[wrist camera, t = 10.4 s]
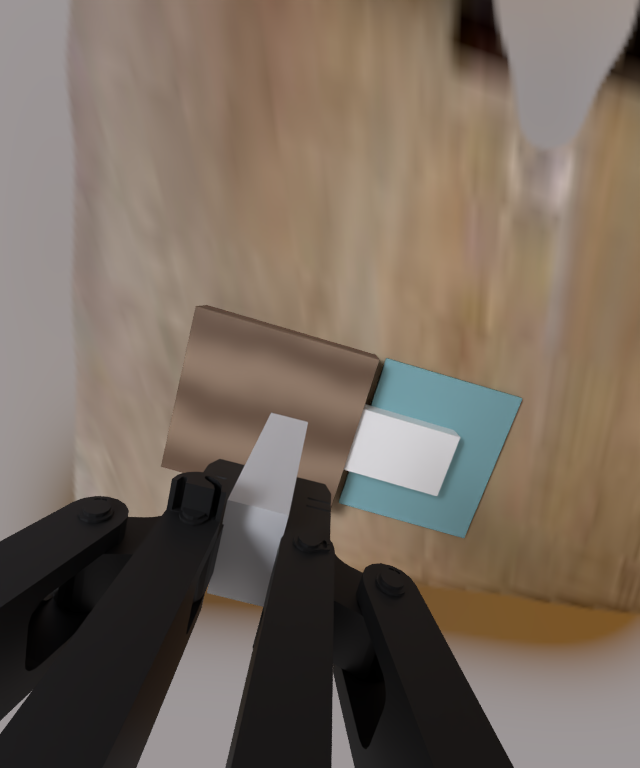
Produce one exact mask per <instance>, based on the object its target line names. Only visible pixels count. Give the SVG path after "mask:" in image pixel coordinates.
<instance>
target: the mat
mask: <svg viewBox="0 0 640 768" xmlns="http://www.w3.org/2000/svg"><path fill="white" fill-rule="evenodd" d="M521 401H522V398H520V397H517V396H514V395H510V394H507V393H504V392H500V391H497V390H493V389H490V388H487V387H483V386H480V385H476V384H473V383H470V382H466V381H463V380H459V379H456V378H453V377H449V376H446V375H442V374H439V373H436V372H432V371H429V370H425V369H422V368H419V367H415V366H412V365H408V364H405V363H402V362H398V361H395V360H391V359H388V358H386V360H385V363H384V366H383V369H382V372H381V375H380V378H379V381H378V384H377V387H376V390H375V393H374V396H373V399H372V402H371V405H370V406H374V407H377V408H380V409H384V410H387V411H391V412H394V413H398V414H401V415H404V416H408V417H411V418H415V419H418V420H421V421H425V422H428V423H432V424H435V425H439V426H442V427H445V428H449V429H452V430H454V431H455V432H456V433H457V434H458V435H459V436H460V440H459V442H458V445H457V447H456V450H455V452H454V455H453V457H452V460H451V463H450V465H449V468H448V470H447V473H446V475H445V478H444V480H443V483H442V485H441V488H440V490H439V493H438V496H434V495H431V494H427V493H424V492H420V491H417V490H413V489H410V488H406V487H403V486H399V485H396V484H392V483H389V482H385V481H382V480H378V479H375V478H371V477H368V476H364V475H361V474H357V473H354V472H350V471H349V472H348V475H347V478H346V481H345V484H344V487H343V490H342V493H341V496H340V499H339V503H341V504H344V505H348V506H351V507H355V508H358V509H362V510H365V511H369V512H373V513H376V514H380V515H383V516H387V517H390V518H394V519H397V520H401V521H404V522H408V523H412V524H415V525H419V526H422V527H426V528H429V529H433V530H436V531H440V532H443V533H447V534H451V535H454V536H458V537H461V538H464V537H465V535H466V533H467V530H468V528H469V525H470V523H471V521H472V518H473V516H474V513H475V511H476V509H477V506H478V504H479V501H480V499H481V497H482V494H483V492H484V489H485V487H486V485H487V482H488V480H489V478H490V475H491V473H492V470H493V468H494V466H495V463H496V461H497V458H498V456H499V454H500V451H501V449H502V446H503V444H504V442H505V439H506V437H507V434H508V432H509V430H510V427H511V425H512V423H513V420H514V418H515V415H516V413H517V411H518V408H519V406H520V403H521Z"/></svg>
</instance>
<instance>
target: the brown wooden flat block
mask: <svg viewBox="0 0 640 768" xmlns="http://www.w3.org/2000/svg"><path fill="white" fill-rule="evenodd" d="M378 363H379V359H378V357H377V356H376V355H374V354H371V353H368V352H364V351H361V350H357V349H354V348H351V347H347V346H344V345H340V344H337V343H334V342H330V341H327V340H323V339H320V338H317V337H313V336H310V335H307V334H303V333H300V332H296V331H293V330H290V329H286V328H283V327H279V326H276V325H273V324H269V323H266V322H262V321H259V320H256V319H252V318H249V317H245V316H242V315H239V314H235V313H232V312H228V311H225V310H222V309H218V308H215V307H211V306H208V305H203V306H196V308H195V313H194V317H193V322H192V326H191V331H190V336H189V340H188V345H187V349H186V354H185V359H184V363H183V368H182V372H181V377H180V382H179V386H178V391H177V395H176V400H175V405H174V409H173V414H172V419H171V423H170V428H169V432H168V437H167V442H166V446H165V451H164V455H163V460H162V465H161V467H164V468H168V469H171V470H175V471H179V472H182V473H186V472H204V470H205V469H206V467H207V466H208V464H210V463H212V462H214V461H216V460H218V459H223V460H227V461H231V462H235V463H239V464H243V465H245V464H246V462H247V460H248V458H249V456H250V454H251V452H252V450H253V448H254V446H255V444H256V442H257V440H258V438H259V436H260V434H261V432H262V430H263V428H264V426H265V424H266V422H267V420H268V418H269V416H270V414H271V413H274V414H278V415H282V416H286V417H290V418H294V419H298V420H302V421H306V422H308V425H307V430H306V435H305V440H304V444H303V449H302V454H301V459H300V464H299V469H298V473H297V477H299V478H303V479H307V480H311V481H315V482H319V483H323V484H326V486H327V488H328V489H329V491H330V493H331V506H332V503H333V500H334V497H335V494H336V491H337V488H338V485H339V482H340V479H341V476H342V473H343V470H344V466H345V463H346V460H347V457H348V454H349V451H350V448H351V445H352V442H353V439H354V436H355V433H356V430H357V427H358V424H359V421H360V418H361V415H362V412H363V408H364V405H365V402H366V399H367V396H368V393H369V390H370V387H371V384H372V381H373V378H374V375H375V372H376V369H377V366H378Z"/></svg>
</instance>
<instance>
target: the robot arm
mask: <svg viewBox="0 0 640 768" xmlns="http://www.w3.org/2000/svg"><path fill="white" fill-rule="evenodd" d="M307 425H308V422H306V421H302V420H298V419H294V418H290V417H286V416H282V415H278V414H274V413H271V414H270V416H269V418H268V420H267V422H266V424H265V426H264V428H263V430H262V432H261V434H260V436H259V438H258V440H257V442H256V444H255V446H254V448H253V450H252V452H251V454H250V456H249V458H248V460H247V462H246V464H245V465H243V464H239V463H235V462H231V461H227V460H223V459H218V460H216V461H214V462H212V463H210V464H208V466H207V467H206V469H205V470H204V472H186V473H182V474H179V475H177V476H176V477H174V478H173V479H172V483H171V488H170V494H169V499H168V505H167V510H166V511H165V512H164V514H163V515H162V516H158V517H145V518H144V517H128V512H129V510H128V508H127V506H126V505H125V504H124V503H122V502H121V501H119V500H118V499H114V498H110V497H104V496H103V497H101V496H94V497H88V498H83V499H80V500H77V501H75V502H72V503H70V504H69V505H67V506H65V507H63V508H61V509H60V510H57V511H56V512H54V513H52V514H50V515H48V516H46V517H45V518H43V519H41V520H39V521H37V522H35V523H33V524H32V525H30V526H28V527H26V528H24V529H22V530H20V531H19V532H17V533H15V534H13V535H11V536H9V537H7V538H6V539H4V540H2V541H0V721H1V720H2V719H3V718H4V717H5V716H6V715H7V714H8V713H9V712H10V711H11V710H12V709H13V708H14V707H15V706H16V705H17V704H18V703H19V702H20V701H21V700H23V699H24V698H25V697H26V696H27V695H28V694H29V693H30V692H31V691H32V692H31V693H30V695H29V696H28V697H27V699H26V700H25V702H24V703H23V704H22V705H21V707H20V708H19V709H18V711H17V712H16V713H15V715H14V716H13V718H12V719H11V720H10V722H9V723H8V724H7V726H6V727H5V728H4V730H3V731H2V732H1V734H0V768H136V767H137V764H138V762H139V760H140V757H141V755H142V752H143V750H144V747H145V745H146V743H147V740H148V737H149V735H150V733H151V730H152V728H153V725H154V723H155V720H156V718H157V716H158V713H159V711H160V708H161V706H162V704H163V701H164V699H165V696H166V694H167V691H168V689H169V686H170V684H171V682H172V679H173V677H174V674H175V672H176V669H177V667H178V665H179V662H180V660H181V657H182V655H183V652H184V650H185V647H186V645H187V643H188V640H189V638H190V635H191V633H192V630H193V628H194V625H195V623H196V621H197V618H198V616H199V613H200V611H201V608H202V603H203V599H204V594H205V591H206V589H207V586H208V584H209V586H208V591H207V593H210V594H214V595H218V596H222V597H226V598H231V599H234V600H238V601H243V602H247V603H250V604H255V605H259V606H263V611H262V615H261V618H260V622H259V625H258V629H257V633H256V637H255V640H254V644H253V652H252V656H251V660H250V665H249V669H248V673H247V677H246V682H245V686H244V690H243V695H242V699H241V703H240V707H239V712H238V716H237V720H236V725H235V729H234V733H233V738H232V742H231V746H230V751H229V755H228V759H227V763H226V768H331V754H332V753H331V752H332V689H333V688H332V687H333V685H332V684H333V683H332V682H333V674H334V678H335V682H336V687H337V691H338V696H339V700H340V705H341V709H342V713H343V718H344V722H345V727H346V731H347V735H348V740H349V744H350V749H351V753H352V758H353V762H354V766H355V768H514V767H513V765H512V763H511V761H510V760H509V758H508V756H507V754H506V752H505V750H504V749H503V747H502V745H501V743H500V741H499V739H498V738H497V735H496V733H495V732H494V730H493V728H492V726H491V724H490V722H489V720H488V719H487V717H486V715H485V713H484V711H483V709H482V707H481V705H480V704H479V702H478V700H477V698H476V696H475V694H474V692H473V691H472V689H471V687H470V685H469V683H468V681H467V679H466V678H465V676H464V674H463V672H462V670H461V668H460V667H459V665H458V663H457V661H456V659H455V657H454V655H453V653H452V651H451V650H450V648H449V646H448V644H447V642H446V640H445V638H444V637H443V635H442V633H441V631H440V629H439V627H438V625H437V624H436V622H435V620H434V618H433V616H432V614H431V612H430V610H429V609H428V607H427V605H426V603H425V601H424V599H423V597H422V595H421V594H420V592H419V590H418V588H417V586H416V585H415V583H414V582H413V581H412V579H411V578H410V577H409V576H407V575H406V574H405V573H404V572H402V571H401V570H399V569H397V568H395V567H393V566H390V565H386V564H381V563H380V564H371V565H369V566H368V567H366V568H365V570H364V572H363V573H362V572H360V571H358V570H356V569H354V568H352V567H350V566H348V565H347V564H345V563H344V562H342V561H341V560H340V559H339V558H338V557H337V556H336V555H335V550H334V546H333V543H332V542H331V541H330V519H331V513H330V512H331V493H330V491H329V489H328V488H327V486H326V484H323V483H319V482H315V481H311V480H307V479H303V478H299V477H297V473H298V469H299V464H300V459H301V454H302V449H303V444H304V440H305V435H306V430H307Z"/></svg>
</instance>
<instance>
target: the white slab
mask: <svg viewBox="0 0 640 768" xmlns="http://www.w3.org/2000/svg"><path fill="white" fill-rule="evenodd" d="M459 440H460V436H459V435H458V434H457V433H456V432H455V431H454V430H452V429H449V428H445V427H442V426H439V425H435V424H432V423H428V422H425V421H421V420H418V419H415V418H411V417H408V416H404V415H401V414H398V413H394V412H391V411H387V410H384V409H380V408H377V407H374V406H370V405H367V404H365V405H364V408H363V412H362V415H361V418H360V421H359V424H358V427H357V430H356V433H355V436H354V439H353V442H352V445H351V448H350V451H349V454H348V457H347V460H346V463H345V466H344V470H347V471H350V472H354V473H357V474H361V475H364V476H368V477H371V478H375V479H378V480H382V481H385V482H389V483H392V484H396V485H399V486H403V487H406V488H410V489H413V490H417V491H420V492H424V493H427V494H431V495H434V496H438V493H439V490H440V488H441V485H442V483H443V480H444V478H445V475H446V473H447V470H448V468H449V465H450V463H451V460H452V457H453V455H454V452H455V450H456V447H457V445H458V442H459Z"/></svg>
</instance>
